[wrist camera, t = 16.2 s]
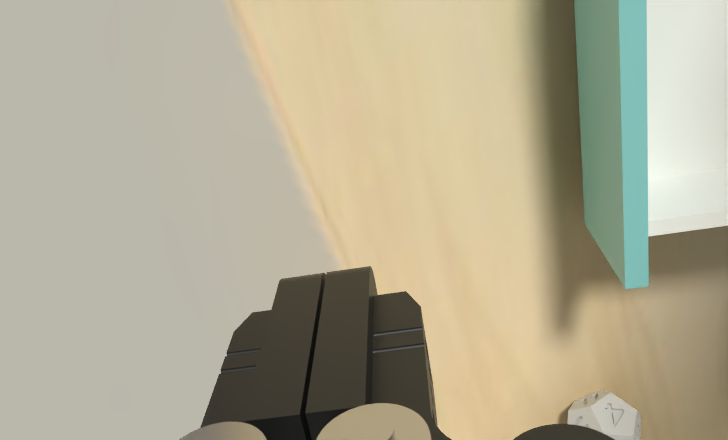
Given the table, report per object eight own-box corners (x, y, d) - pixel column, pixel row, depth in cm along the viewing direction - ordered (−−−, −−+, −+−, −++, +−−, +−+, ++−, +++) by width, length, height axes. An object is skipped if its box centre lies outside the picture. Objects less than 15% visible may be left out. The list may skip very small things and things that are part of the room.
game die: (552, 433, 35) (567, 478, 33) (567, 374, 34) (584, 415, 31) (621, 439, 35) (641, 484, 33) (640, 380, 34) (662, 422, 31)
